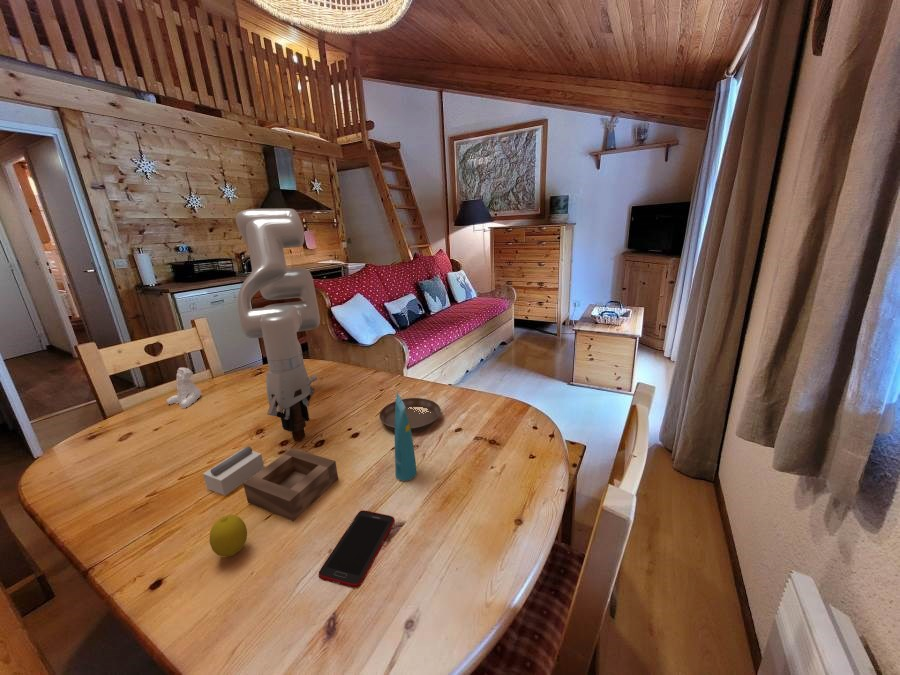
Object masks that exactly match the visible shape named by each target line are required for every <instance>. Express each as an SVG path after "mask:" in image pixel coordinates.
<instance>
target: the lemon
mask: <svg viewBox="0 0 900 675" xmlns="http://www.w3.org/2000/svg"><path fill="white" fill-rule="evenodd" d="M247 530H248V528H247V525H246V523H245V522H244V520H243V519H242V518H241V517H240V516H238V515H235V514H227V515H223V516H222V517H220V518H219V519H217V520H216V521H215V522H214V523H213V525H212V526H211V528H210V531H209V544H210V548H211V550H212V552H214V554H216V555H217V556H220V557H225V558H228V557H231V556H234V555H236V554H237V553H239V552H240V550H242V549H243V547H244V545H245V544H246V542H247V540H248V539H247V538H248V531H247Z"/></svg>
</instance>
